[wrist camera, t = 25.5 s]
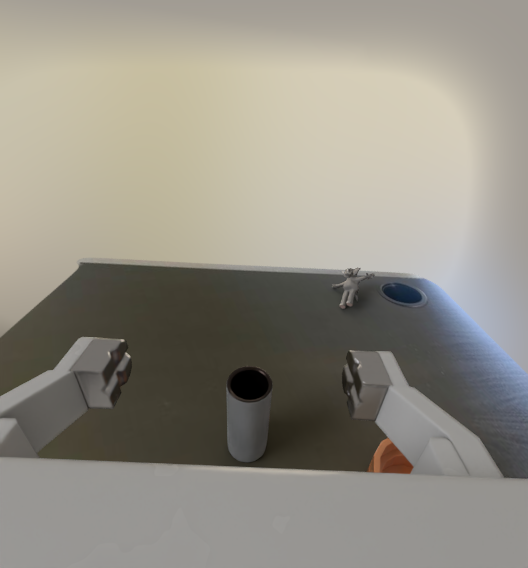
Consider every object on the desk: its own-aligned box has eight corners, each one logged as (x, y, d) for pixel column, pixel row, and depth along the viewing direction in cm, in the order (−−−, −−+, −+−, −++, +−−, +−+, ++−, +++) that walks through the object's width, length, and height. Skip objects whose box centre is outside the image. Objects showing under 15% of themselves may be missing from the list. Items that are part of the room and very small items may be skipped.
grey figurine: (316, 302, 61) (327, 270, 66) (334, 319, 63) (342, 287, 68) (359, 291, 53) (367, 256, 59) (377, 310, 56) (383, 275, 61)
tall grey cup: (225, 461, 33) (223, 400, 28) (230, 424, 37) (229, 364, 32) (266, 464, 33) (272, 403, 28) (267, 426, 37) (272, 366, 32)
